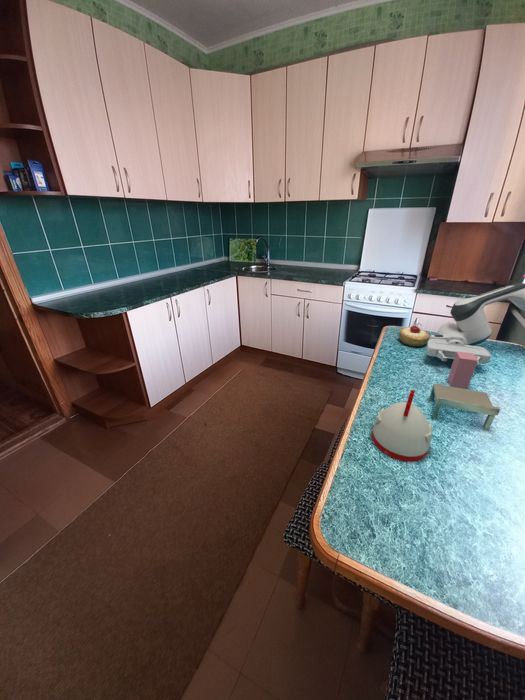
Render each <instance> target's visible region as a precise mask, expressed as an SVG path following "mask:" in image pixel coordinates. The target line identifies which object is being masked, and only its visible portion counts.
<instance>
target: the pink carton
mask: <svg viewBox="0 0 525 700" xmlns="http://www.w3.org/2000/svg"><path fill="white" fill-rule="evenodd" d="M477 361H478V360H477V358H476V357H475V355H474V354H473V353H465V352H456V354H455V357H454V359H453V361H452V363H451V367H450V370H449V373H448V376H447V381H448V383H449V384H448V385H449V386H451V387H457V388H462V389H468V388H469V386H470V383H471V380H472V378H473V375H474V372H475V370H476V367H477V366H476V364H477Z"/></svg>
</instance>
